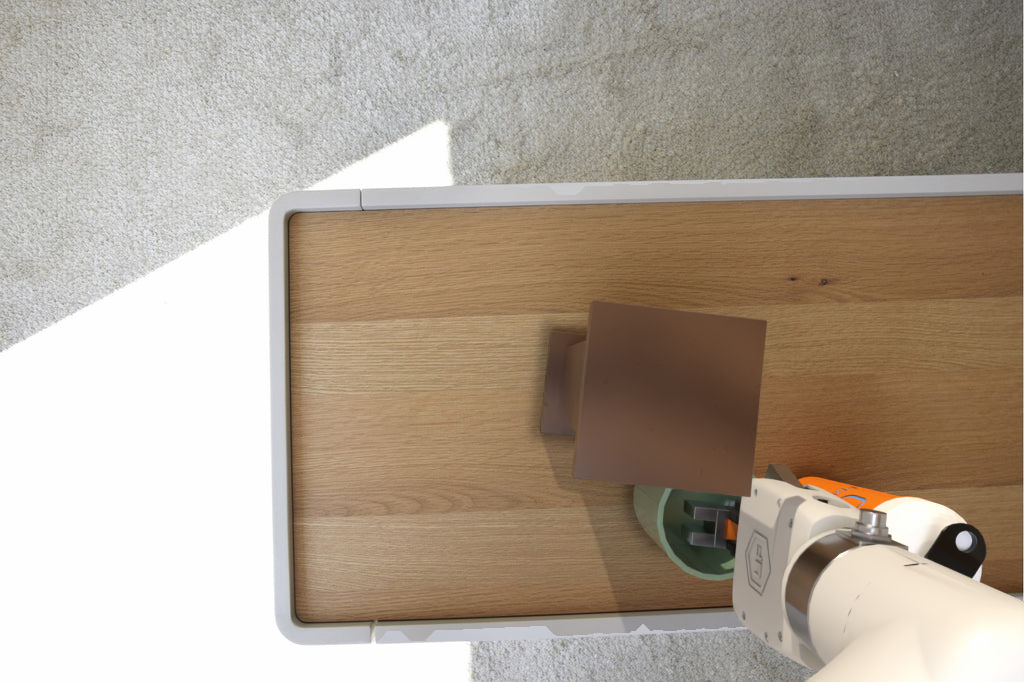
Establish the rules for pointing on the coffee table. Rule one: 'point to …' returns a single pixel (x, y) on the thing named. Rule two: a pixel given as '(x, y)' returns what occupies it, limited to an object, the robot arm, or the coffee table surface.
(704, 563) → the green cup
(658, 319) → the stand
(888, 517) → the shaker bottle
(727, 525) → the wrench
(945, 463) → the coffee table surface
